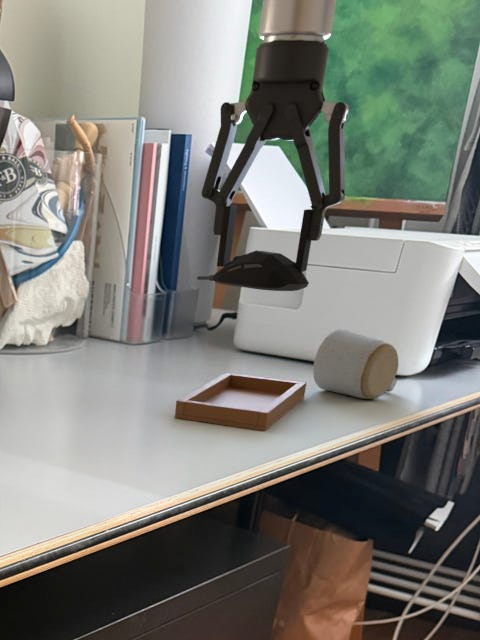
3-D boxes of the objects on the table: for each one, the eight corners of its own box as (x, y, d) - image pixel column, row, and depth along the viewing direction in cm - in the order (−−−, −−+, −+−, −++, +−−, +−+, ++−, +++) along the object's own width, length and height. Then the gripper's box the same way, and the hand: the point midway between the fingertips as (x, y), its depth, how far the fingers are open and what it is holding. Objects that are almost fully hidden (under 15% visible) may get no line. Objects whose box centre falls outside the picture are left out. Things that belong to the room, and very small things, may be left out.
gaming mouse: (212, 278, 118) (217, 244, 116) (317, 291, 109) (324, 254, 107) (182, 280, 114) (186, 245, 113) (288, 294, 105) (294, 256, 103)
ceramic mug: (360, 404, 116) (374, 340, 113) (307, 391, 122) (318, 330, 119) (409, 396, 122) (424, 335, 119) (356, 384, 128) (368, 326, 124)
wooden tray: (303, 398, 119) (306, 382, 118) (265, 431, 103) (267, 413, 102) (223, 388, 123) (225, 372, 122) (174, 417, 108) (176, 400, 107)
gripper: (403, 43, 98) (360, 272, 109) (208, 48, 107) (185, 260, 118) (392, 34, 93) (347, 277, 103) (186, 41, 102) (164, 264, 112)
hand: (261, 268), depth 110 cm, fingers closed on gaming mouse, 8 cm apart
